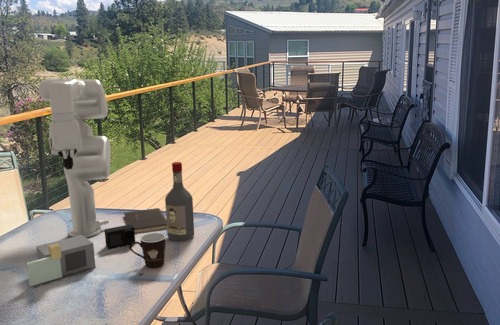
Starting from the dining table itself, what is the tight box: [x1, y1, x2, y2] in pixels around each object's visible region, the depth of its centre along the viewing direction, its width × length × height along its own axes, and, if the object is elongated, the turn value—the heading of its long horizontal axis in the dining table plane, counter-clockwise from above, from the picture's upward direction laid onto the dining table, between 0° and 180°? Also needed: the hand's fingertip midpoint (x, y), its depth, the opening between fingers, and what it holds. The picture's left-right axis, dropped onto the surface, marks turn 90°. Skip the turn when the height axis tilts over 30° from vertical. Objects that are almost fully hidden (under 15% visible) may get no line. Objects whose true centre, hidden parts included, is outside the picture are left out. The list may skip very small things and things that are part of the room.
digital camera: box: [104, 224, 136, 250], centre depth 200 cm, size 10×5×7 cm, turn 118°
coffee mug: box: [129, 232, 167, 269], centre depth 183 cm, size 12×9×10 cm
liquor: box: [164, 161, 195, 243], centre depth 205 cm, size 9×9×30 cm
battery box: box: [32, 235, 96, 288], centre depth 178 cm, size 21×12×9 cm, turn 128°
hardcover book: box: [123, 207, 167, 234], centre depth 226 cm, size 16×23×2 cm
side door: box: [26, 243, 62, 287], centre depth 169 cm, size 10×3×12 cm, turn 128°
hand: (68, 168), depth 188 cm, fingers closed
